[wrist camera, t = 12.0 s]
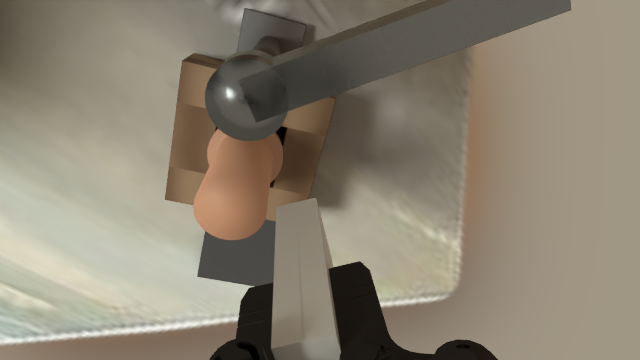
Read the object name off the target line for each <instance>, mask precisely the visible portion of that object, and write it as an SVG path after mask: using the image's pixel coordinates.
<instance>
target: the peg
mask: <svg viewBox="0 0 640 360" xmlns="http://www.w3.org/2000/svg"><path fill="white" fill-rule="evenodd" d="M207 159H208V163H209V169H208V171H207V173H206V175H205V177H204V179H203V181H202V183H201V185H200V187H199V190H198V192H197V194H196V196H195V199H194V204H193V209H194V215H195V217H196V220H197V221H198V223H199V224H200V226H201V227H202V228H203V229H204V230H205V231H206V232H208V233H209V234H211V235H213V236H215V237H217V238H220V239H224V240H240V239H244V238H247V237H249V236H251V235H253V234H254V233H256V232H257V231H258V230H259V229H260V228H261V226H262V225H263V223H264V221H265V218H266V213H267V205H268V197H269V189H270V183H271V182H272V181H273V180H274V179H275V178H276V177H277V175H278V174H279V172H280V170H281V167H282V163H283V146H282V142H281V140H280V138H279V136H278V134H277V133H276V132H275V133H273V134H272V135H270V136H269V137H267V138H264V139H261V140H257V141H241V140H237V139H234V138H231V137H229V136H227V135H226V134H224V133H223V132H222V131H220V130H219V129H217V130H216V131H215V133H214V134H213V136H212V138H211V140H210V142H209V145H208V149H207Z"/></svg>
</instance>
